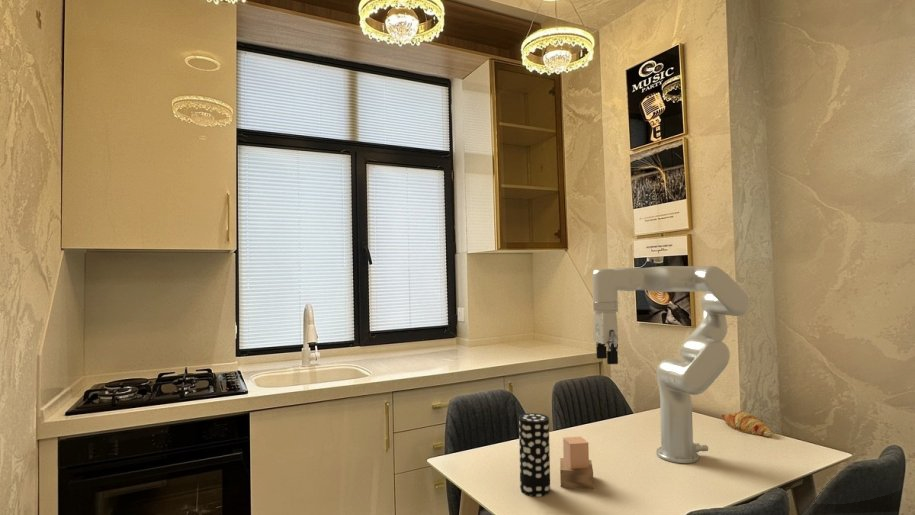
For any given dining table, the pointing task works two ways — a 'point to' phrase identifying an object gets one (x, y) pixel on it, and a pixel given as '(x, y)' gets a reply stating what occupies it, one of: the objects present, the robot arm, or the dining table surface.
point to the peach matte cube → (576, 452)
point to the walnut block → (576, 476)
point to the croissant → (747, 423)
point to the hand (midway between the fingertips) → (606, 361)
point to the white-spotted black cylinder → (534, 454)
